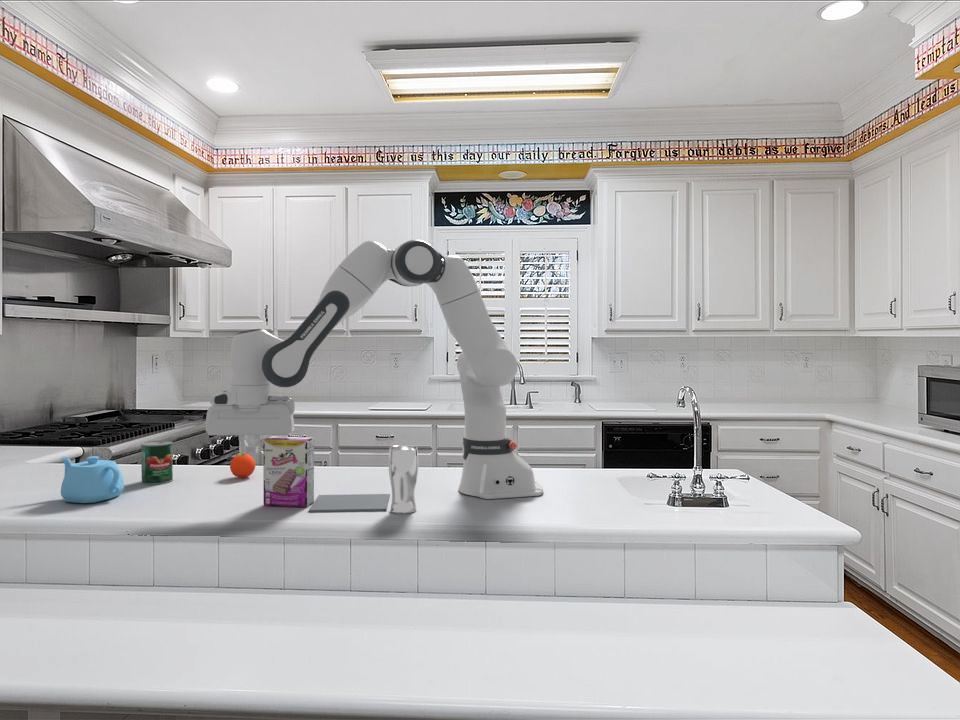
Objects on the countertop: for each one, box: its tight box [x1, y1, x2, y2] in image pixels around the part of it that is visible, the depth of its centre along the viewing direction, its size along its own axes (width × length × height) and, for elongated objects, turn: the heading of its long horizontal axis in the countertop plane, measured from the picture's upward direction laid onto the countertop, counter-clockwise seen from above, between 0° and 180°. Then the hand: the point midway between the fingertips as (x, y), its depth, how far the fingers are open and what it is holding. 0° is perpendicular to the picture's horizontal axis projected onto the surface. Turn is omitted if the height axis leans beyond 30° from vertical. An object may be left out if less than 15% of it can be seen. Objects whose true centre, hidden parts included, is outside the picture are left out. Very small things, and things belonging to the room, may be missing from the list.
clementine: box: [229, 452, 256, 479], centre depth 184 cm, size 8×7×7 cm
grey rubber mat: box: [308, 493, 391, 513], centre depth 156 cm, size 18×14×1 cm
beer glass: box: [388, 444, 419, 515], centre depth 150 cm, size 7×7×15 cm
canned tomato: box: [140, 439, 174, 486], centre depth 178 cm, size 8×8×11 cm
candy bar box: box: [262, 435, 315, 508], centre depth 154 cm, size 11×5×16 cm, turn 84°
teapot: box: [60, 455, 125, 504], centre depth 159 cm, size 13×11×18 cm
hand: (250, 453), depth 153 cm, fingers closed
